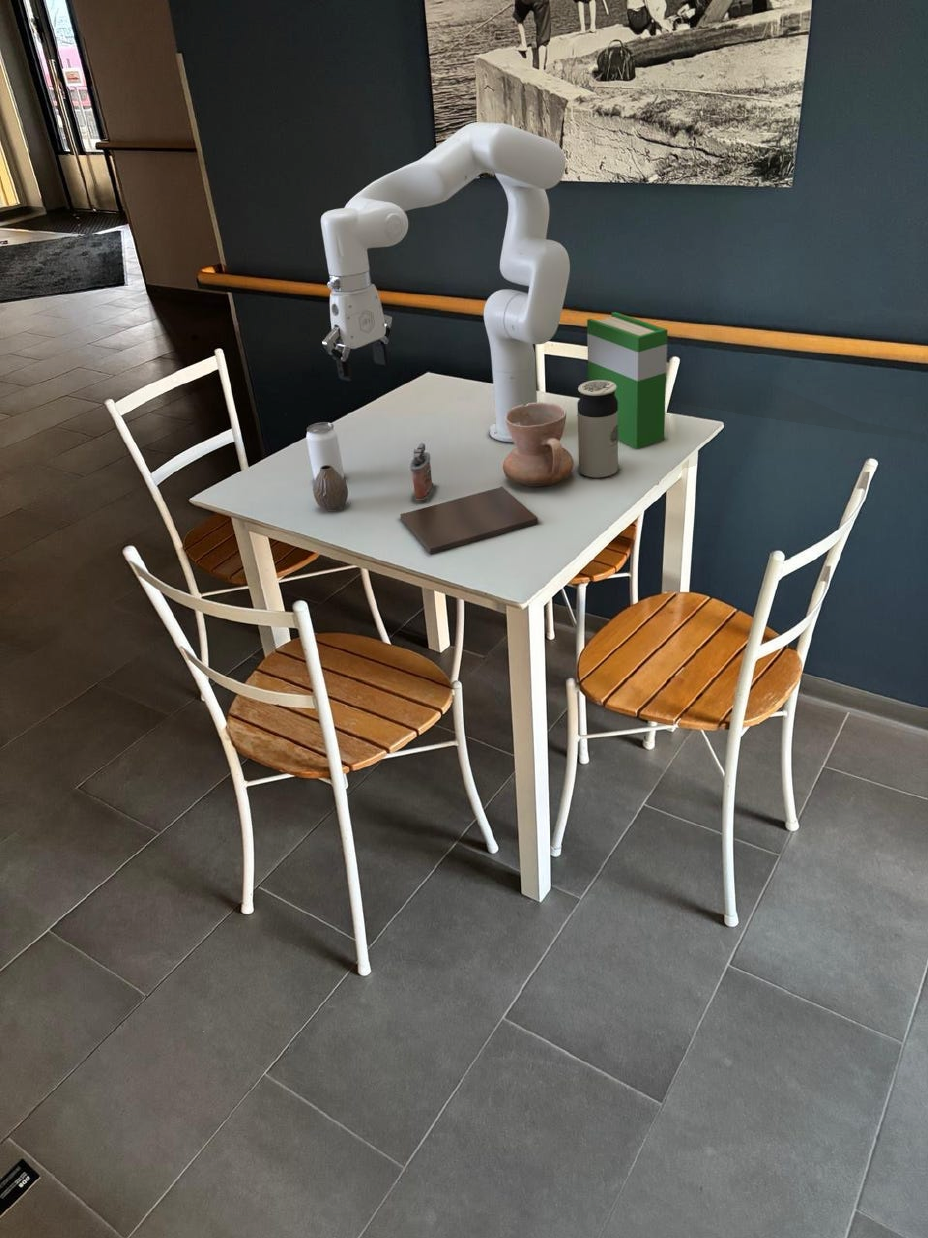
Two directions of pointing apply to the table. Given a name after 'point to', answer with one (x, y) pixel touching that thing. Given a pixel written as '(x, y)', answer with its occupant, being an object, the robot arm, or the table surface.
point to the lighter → (421, 474)
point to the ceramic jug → (537, 445)
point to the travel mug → (598, 429)
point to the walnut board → (468, 519)
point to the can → (324, 447)
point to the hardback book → (631, 373)
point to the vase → (330, 489)
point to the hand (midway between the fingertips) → (364, 371)
